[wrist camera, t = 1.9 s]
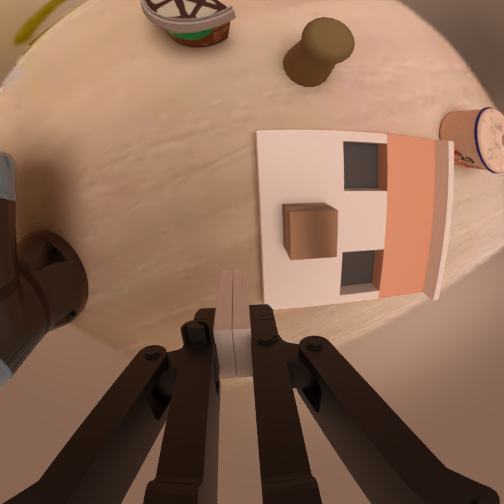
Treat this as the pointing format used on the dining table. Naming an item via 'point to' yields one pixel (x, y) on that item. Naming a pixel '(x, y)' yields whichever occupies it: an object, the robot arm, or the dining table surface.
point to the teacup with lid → (476, 138)
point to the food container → (191, 20)
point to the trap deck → (355, 214)
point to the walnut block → (310, 230)
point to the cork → (318, 51)
